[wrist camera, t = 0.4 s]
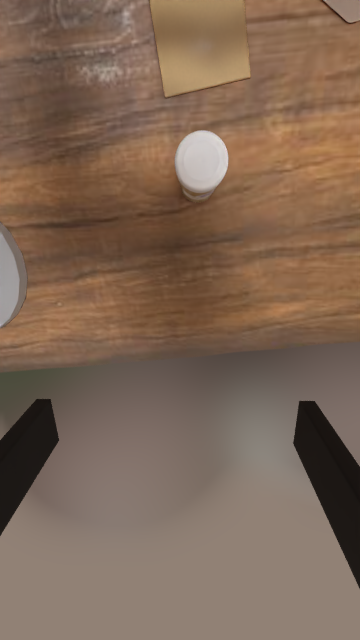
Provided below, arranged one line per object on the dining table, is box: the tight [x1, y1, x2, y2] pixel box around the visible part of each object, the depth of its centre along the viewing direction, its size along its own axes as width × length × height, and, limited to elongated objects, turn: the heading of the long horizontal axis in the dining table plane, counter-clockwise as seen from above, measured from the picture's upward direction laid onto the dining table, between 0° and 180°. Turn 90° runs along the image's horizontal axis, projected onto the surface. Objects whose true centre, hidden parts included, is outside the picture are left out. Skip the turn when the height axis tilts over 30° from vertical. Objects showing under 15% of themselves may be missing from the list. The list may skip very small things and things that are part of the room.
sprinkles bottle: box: [175, 130, 228, 203], centre depth 29 cm, size 5×5×14 cm
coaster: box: [149, 0, 250, 98], centre depth 31 cm, size 10×10×1 cm
